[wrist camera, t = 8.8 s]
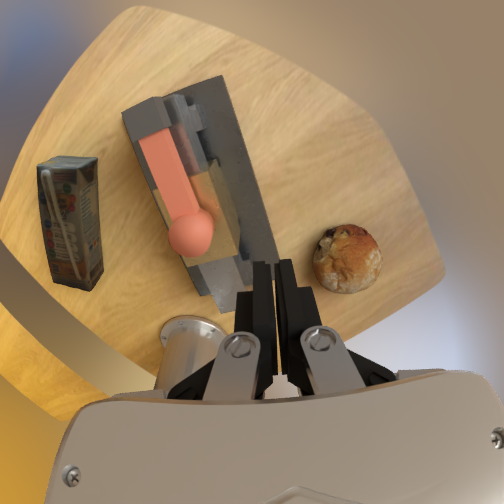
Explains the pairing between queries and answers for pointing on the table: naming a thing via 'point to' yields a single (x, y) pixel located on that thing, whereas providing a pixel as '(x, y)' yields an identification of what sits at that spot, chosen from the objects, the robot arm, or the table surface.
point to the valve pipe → (217, 190)
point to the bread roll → (347, 260)
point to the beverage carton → (71, 220)
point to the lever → (170, 177)
